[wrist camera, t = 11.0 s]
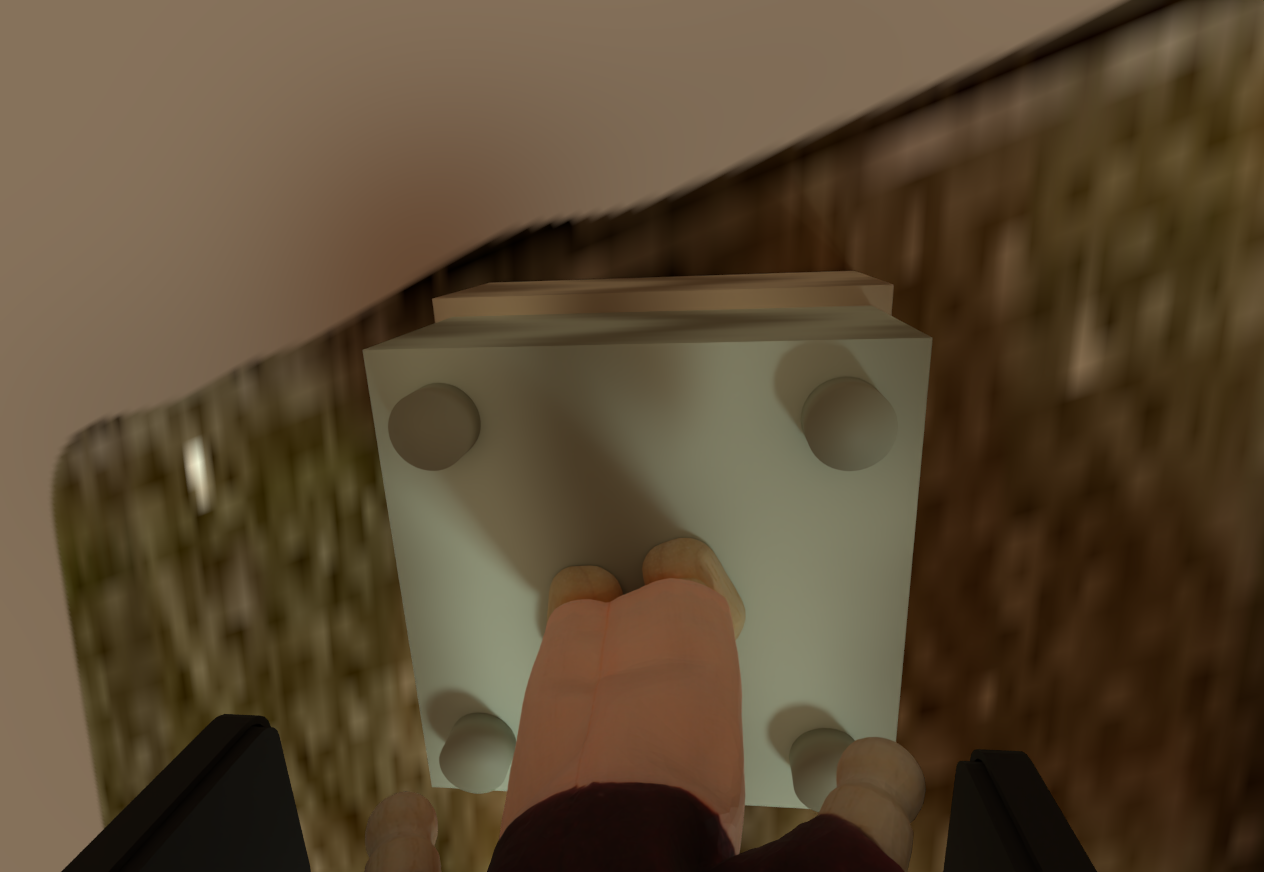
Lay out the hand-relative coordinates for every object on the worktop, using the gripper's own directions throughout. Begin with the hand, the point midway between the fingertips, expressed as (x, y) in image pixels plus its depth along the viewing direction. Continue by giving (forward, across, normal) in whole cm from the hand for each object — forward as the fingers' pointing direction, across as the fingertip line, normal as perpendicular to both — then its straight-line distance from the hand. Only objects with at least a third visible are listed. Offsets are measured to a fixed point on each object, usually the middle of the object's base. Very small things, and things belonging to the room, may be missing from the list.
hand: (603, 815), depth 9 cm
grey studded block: (+16, 0, 0) cm, 16 cm away
